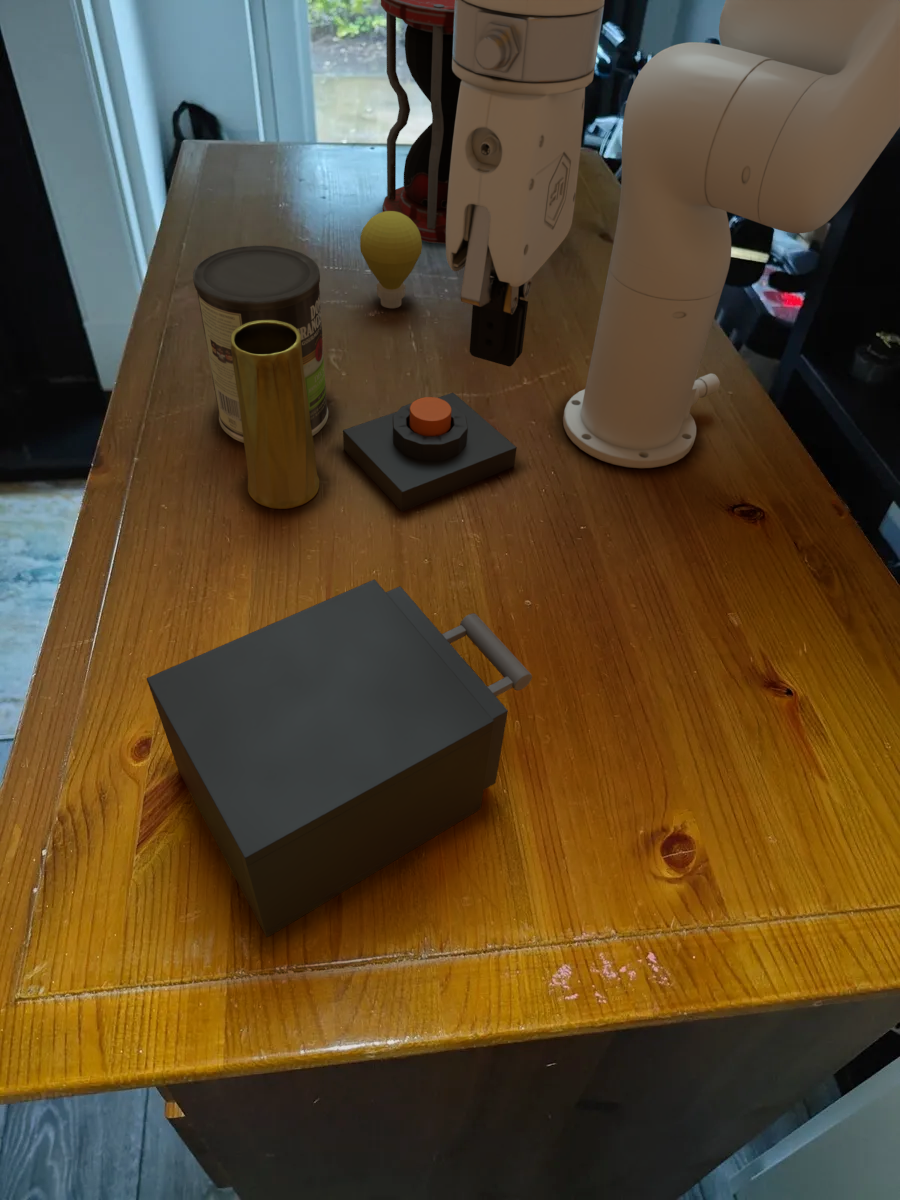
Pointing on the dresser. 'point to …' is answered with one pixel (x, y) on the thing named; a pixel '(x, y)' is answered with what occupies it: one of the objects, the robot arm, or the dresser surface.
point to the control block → (428, 454)
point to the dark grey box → (323, 748)
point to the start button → (430, 416)
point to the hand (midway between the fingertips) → (495, 355)
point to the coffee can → (260, 318)
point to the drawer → (492, 651)
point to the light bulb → (391, 253)
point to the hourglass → (429, 60)
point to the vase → (274, 414)
